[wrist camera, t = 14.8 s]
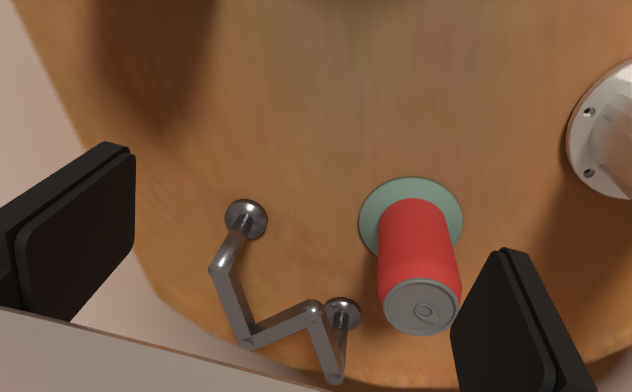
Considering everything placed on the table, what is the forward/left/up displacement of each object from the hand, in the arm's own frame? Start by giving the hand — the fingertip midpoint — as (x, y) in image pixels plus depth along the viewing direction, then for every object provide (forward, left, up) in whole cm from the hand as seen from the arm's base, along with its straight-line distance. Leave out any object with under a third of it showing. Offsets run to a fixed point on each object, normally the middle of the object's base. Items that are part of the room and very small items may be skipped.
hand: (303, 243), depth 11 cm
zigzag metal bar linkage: (-1, +23, -28) cm, 37 cm away
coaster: (-10, +14, -28) cm, 33 cm away
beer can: (-10, +14, -28) cm, 33 cm away
